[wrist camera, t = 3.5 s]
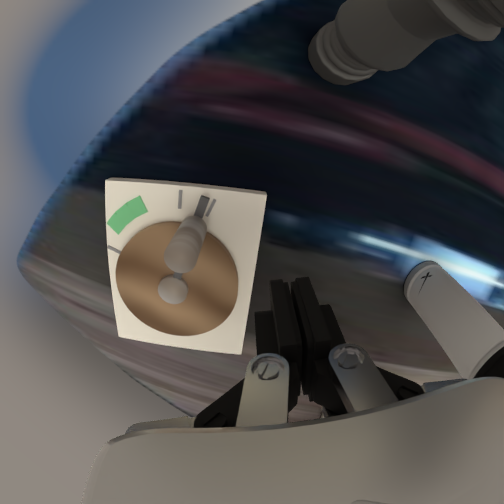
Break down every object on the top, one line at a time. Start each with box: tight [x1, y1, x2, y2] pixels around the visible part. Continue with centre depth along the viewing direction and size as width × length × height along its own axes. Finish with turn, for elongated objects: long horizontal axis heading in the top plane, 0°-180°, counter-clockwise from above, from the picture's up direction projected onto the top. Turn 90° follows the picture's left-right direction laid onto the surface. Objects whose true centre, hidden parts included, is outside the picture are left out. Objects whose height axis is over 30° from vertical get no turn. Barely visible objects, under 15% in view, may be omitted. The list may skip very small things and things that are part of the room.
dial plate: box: [105, 177, 267, 355], centre depth 31 cm, size 20×16×2 cm
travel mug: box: [404, 261, 504, 380], centre depth 24 cm, size 6×7×20 cm
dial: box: [115, 195, 238, 336], centre depth 26 cm, size 16×13×8 cm
